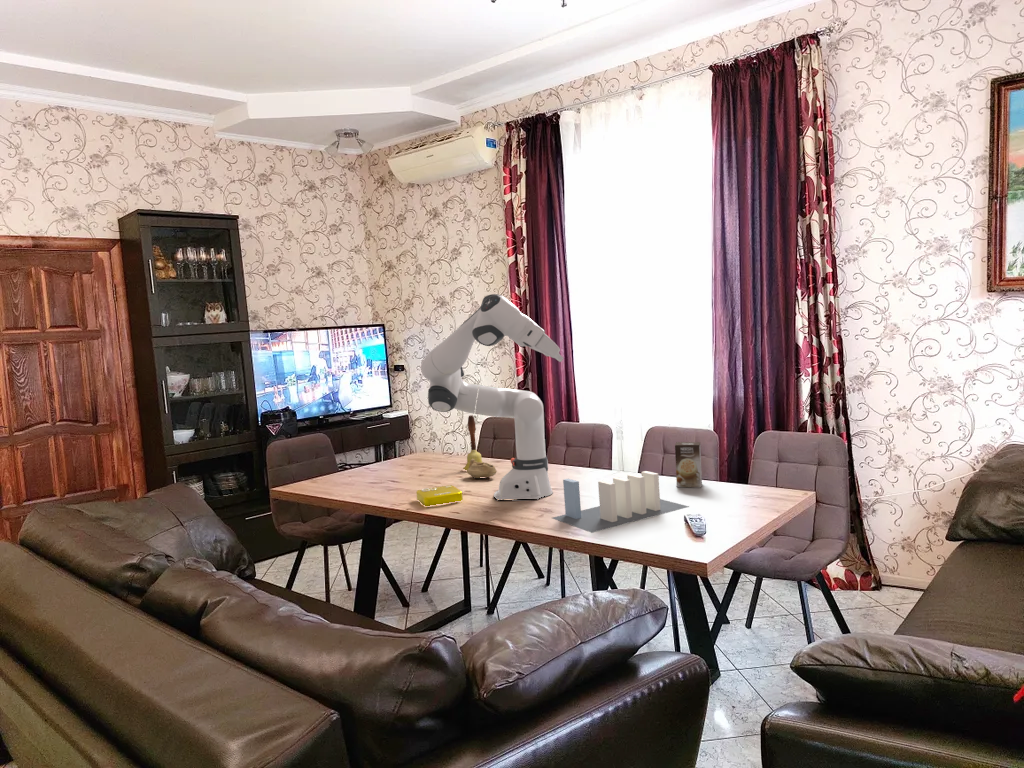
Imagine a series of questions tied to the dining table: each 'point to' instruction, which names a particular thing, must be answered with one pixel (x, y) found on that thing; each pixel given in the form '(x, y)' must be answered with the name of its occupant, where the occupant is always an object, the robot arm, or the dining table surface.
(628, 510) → the domino
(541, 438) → the robot arm
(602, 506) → the domino
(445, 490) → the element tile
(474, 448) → the handbell
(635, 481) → the domino
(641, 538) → the dining table surface
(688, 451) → the coffee box
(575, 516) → the blue domino
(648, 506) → the domino
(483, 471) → the oil lamp
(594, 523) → the rubber mat
